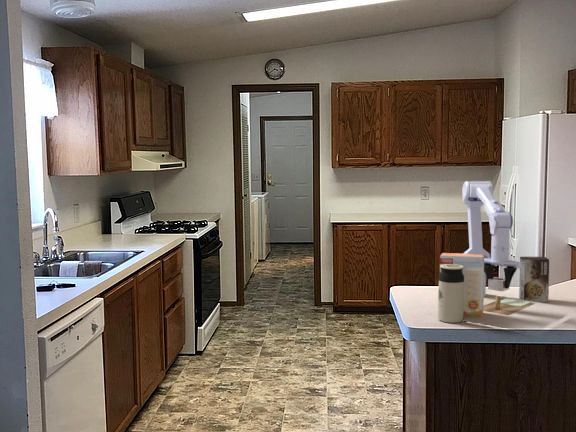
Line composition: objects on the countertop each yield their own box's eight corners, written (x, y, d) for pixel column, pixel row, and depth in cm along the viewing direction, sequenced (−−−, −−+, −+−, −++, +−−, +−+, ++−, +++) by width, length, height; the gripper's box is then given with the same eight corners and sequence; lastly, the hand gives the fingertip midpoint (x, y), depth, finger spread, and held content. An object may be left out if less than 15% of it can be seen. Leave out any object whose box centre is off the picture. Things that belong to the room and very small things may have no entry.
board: (474, 312, 213) (475, 296, 212) (502, 300, 229) (503, 286, 229) (508, 318, 205) (509, 301, 204) (535, 306, 221) (535, 291, 220)
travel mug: (462, 317, 205) (463, 264, 203) (463, 324, 197) (465, 268, 196) (437, 316, 207) (438, 263, 205) (438, 322, 199) (439, 267, 198)
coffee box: (543, 298, 233) (544, 256, 231) (548, 302, 226) (550, 259, 225) (518, 298, 233) (519, 256, 232) (522, 302, 227) (524, 258, 226)
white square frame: (488, 289, 212) (488, 279, 211) (494, 286, 215) (495, 276, 215) (502, 291, 208) (503, 281, 208) (509, 289, 212) (509, 278, 212)
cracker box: (483, 315, 208) (485, 254, 206) (482, 319, 203) (483, 256, 201) (441, 311, 213) (442, 251, 211) (438, 316, 208) (439, 254, 206)
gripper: (474, 246, 212) (473, 285, 214) (516, 250, 203) (514, 291, 204) (484, 244, 218) (482, 282, 219) (524, 248, 208) (523, 288, 209)
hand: (498, 286), depth 212 cm, fingers closed on white square frame, 5 cm apart
